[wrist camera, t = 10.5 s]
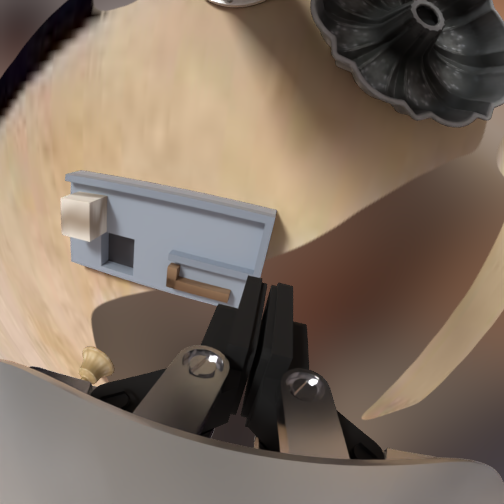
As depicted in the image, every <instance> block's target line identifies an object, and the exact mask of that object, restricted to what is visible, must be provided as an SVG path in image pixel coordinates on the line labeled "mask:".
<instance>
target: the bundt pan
mask: <svg viewBox="0 0 504 504" xmlns="http://www.w3.org/2000/svg"><path fill="white" fill-rule="evenodd" d="M310 8H311V15H312V18H313V20H314V22H315V24H316V26H317V27H318V28H319V30H320V32H321V35H322V37H323V39H324V40H325V42H326V43H327V44H328V45H329V46H330V47H331V53H332V56H333V58H334V59H335V64H336V66H338V67H340V68H342V69H345V70H347V71H349V72H351V73H352V75H353V78H354V80H355V82H356V83H357V85H358V86H359V87H360V88H361V89H362V90H363V91H364V92H365V93H366V94H368V95H370V96H371V97H374V98H376V99H379V100H382V101H384V102H387V103H390V104H391V105H392V106H393V107H394V109H395V110H396V111H397V112H398V113H401V114H406V115H409V116H410V117H411V118H412V119H414V120H417V121H418V120H423V119H427V118H432V119H433V120H435V121H436V122H438V123H440V124H442V125H445V126H449V127H463V126H467V125H469V124H470V123H472V122H473V121H474V120H475V119H476V118H479V119H482V120H490V119H491V117H492V113H493V110H494V108H495V107H498V106H500V105H502V104H503V103H504V21H503V19H502V18H501V16H500V15H499V14H498V12H497V11H496V10H495V8H494V5H493V1H492V0H311V6H310Z"/></svg>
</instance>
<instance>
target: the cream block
mask: <svg viewBox="0 0 504 504" xmlns="http://www.w3.org/2000/svg"><path fill="white" fill-rule="evenodd" d="M61 227H62V235H65V236H69V237H73V238H76V239H80V240H84V241H88V242H91V241H92V240H94V239H96V238H97V237H99V236H101V235H102V234H104V233H106V232H107V196H106V195H100V194H94V193H87V192H81V191H79V192H76V193H73V194H70V195H67V196H64V197H62V198H61Z"/></svg>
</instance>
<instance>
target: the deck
mask: <svg viewBox="0 0 504 504" xmlns="http://www.w3.org/2000/svg"><path fill="white" fill-rule="evenodd" d="M65 181H69V182H71V194H73V193H76V192H79V191H81V192H87V193H94V194H100V195H106V196H107V232H106V233H104V234H102V235H101V236H99V237H97V238H96V239H94V240H92V241H91V242H88V241H84V240H80V239H76V238H73V237H70V239H71V261H72V262H75V263H78V264H80V265H83V266H86V267H89V268H92V269H95V270H98V271H101V272H104V273H107V274H110V275H113V276H116V277H119V278H122V279H126V280H129V281H132V282H135V283H138V284H142V285H145V286H148V287H152V288H155V289H158V290H162V291H165V292H169V293H172V294H175V295H179V296H182V297H186V298H190V299H193V300H197V301H200V302H204V303H208V304H212V305H215V306H217V305H218V304H223V305H227V306H231V307H235V308H238V307H239V303H240V300H241V297H242V294H243V290H244V287H245V284H246V280H247V277H248V275H250V276H254V277H258V278H260V277H261V273H262V269H263V265H264V261H265V257H266V253H267V249H268V245H269V241H270V237H271V233H272V229H273V225H274V221H275V217H276V211H277V210H274V209H270V208H266V207H262V206H258V205H253V204H249V203H245V202H241V201H236V200H232V199H227V198H223V197H218V196H214V195H209V194H205V193H200V192H195V191H190V190H186V189H181V188H176V187H171V186H166V185H161V184H156V183H151V182H145V181H140V180H135V179H129V178H124V177H118V176H112V175H107V174H101V173H95V172H89V171H82V170H80V171H76V172H72V173H68V174H66V177H65ZM170 263H175V264H179V265H180V273H179V276H180V277H184V278H188V279H191V280H195V281H199V282H203V283H206V284H210V285H214V286H218V287H222V288H226V289H230V290H231V291H230V296H229V300H228V302H227V303H224V302H220V301H217V300H213V299H209V298H205V297H202V296H198V295H194V294H191V293H187V292H183V291H180V290H176V289H173V288H169V287H166V279H167V268H168V266H169V264H170Z"/></svg>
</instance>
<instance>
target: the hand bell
mask: <svg viewBox="0 0 504 504" xmlns="http://www.w3.org/2000/svg"><path fill="white" fill-rule="evenodd" d="M113 373H114V365H113V363H112V361H111V360H110V358H109V357H108V356H107V355H106V354H105V353H103V352H102V351H100V350H99V349H97V348H94V347H86V348H84V350H83V363H82V366H81V368H80V369H79V374H80V376H81V377H82V378H81V380H85V381H89V382H91V384H95V383H96V382H97V381H98V380H99V379H100V378H102V377H103V376H110V375H112V374H113Z"/></svg>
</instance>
